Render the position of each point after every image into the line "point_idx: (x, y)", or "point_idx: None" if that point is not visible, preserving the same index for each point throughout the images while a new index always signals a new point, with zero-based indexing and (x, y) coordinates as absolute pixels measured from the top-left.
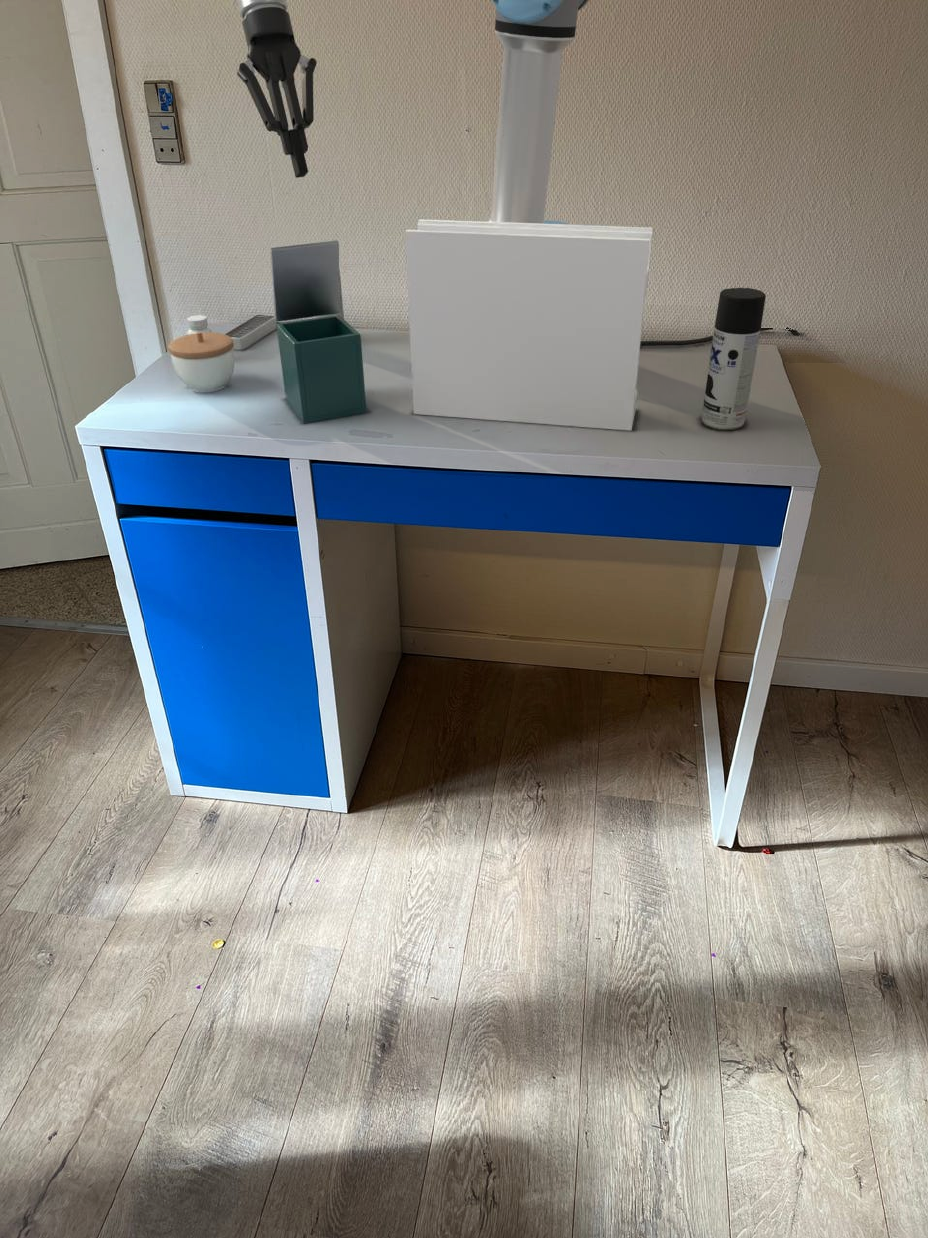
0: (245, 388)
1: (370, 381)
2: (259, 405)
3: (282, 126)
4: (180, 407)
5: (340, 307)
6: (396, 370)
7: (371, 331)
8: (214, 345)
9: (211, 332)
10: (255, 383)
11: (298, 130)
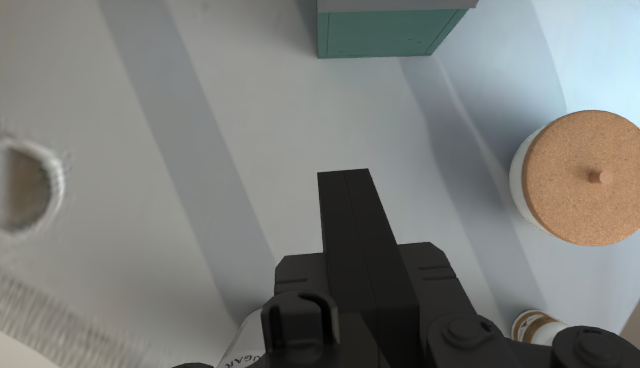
0: (487, 141)
1: (264, 81)
2: (479, 48)
3: (489, 320)
4: (611, 96)
5: (238, 333)
6: (200, 116)
7: (173, 364)
8: (571, 137)
9: (534, 339)
10: (464, 159)
11: (335, 300)
